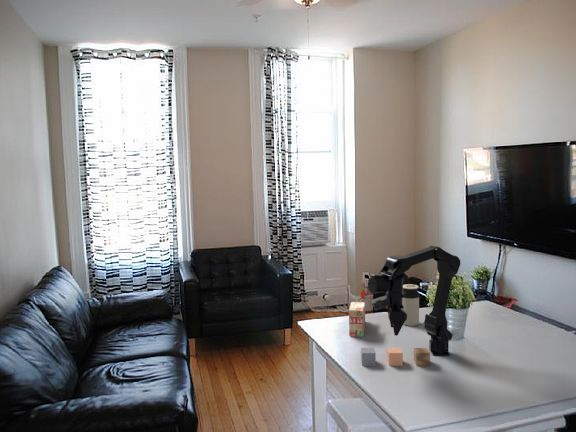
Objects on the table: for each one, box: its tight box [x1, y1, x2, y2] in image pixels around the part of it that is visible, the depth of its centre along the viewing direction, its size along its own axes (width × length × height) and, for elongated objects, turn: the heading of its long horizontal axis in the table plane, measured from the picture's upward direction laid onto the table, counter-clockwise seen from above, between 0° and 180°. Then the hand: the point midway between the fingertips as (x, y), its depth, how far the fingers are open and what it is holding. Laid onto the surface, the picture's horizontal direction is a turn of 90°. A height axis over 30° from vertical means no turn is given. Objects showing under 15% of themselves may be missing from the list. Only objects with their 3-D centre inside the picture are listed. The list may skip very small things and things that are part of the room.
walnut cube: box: [413, 347, 431, 367], centre depth 180 cm, size 5×5×5 cm
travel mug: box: [403, 283, 420, 327], centre depth 223 cm, size 8×8×18 cm
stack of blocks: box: [348, 301, 366, 338], centre depth 219 cm, size 21×6×12 cm, turn 169°
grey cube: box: [360, 347, 377, 367], centre depth 181 cm, size 5×5×5 cm
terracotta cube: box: [386, 347, 404, 367], centre depth 181 cm, size 5×5×5 cm
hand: (394, 331), depth 180 cm, fingers open, 9 cm apart
